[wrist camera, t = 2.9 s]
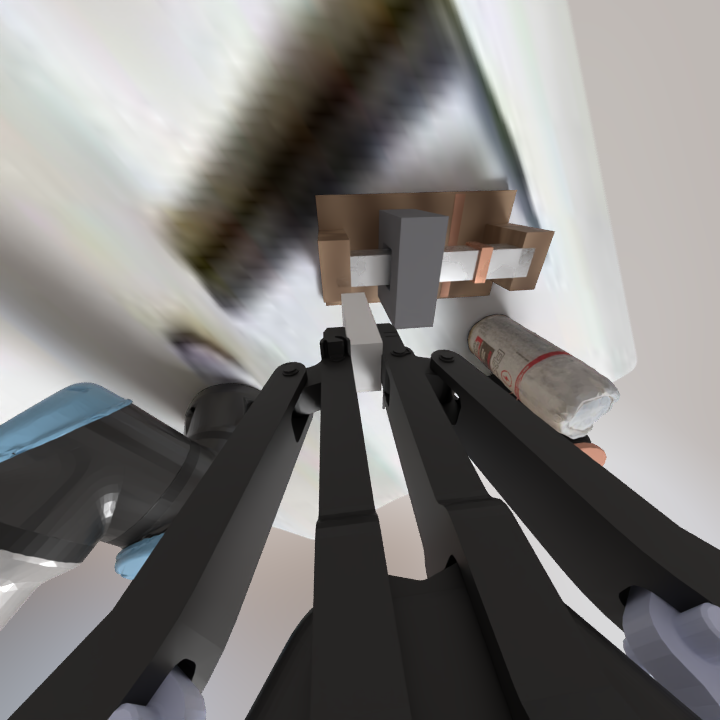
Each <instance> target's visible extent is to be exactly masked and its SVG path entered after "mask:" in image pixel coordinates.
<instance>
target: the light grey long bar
mask: <svg viewBox="0 0 720 720" xmlns="http://www.w3.org/2000/svg"><path fill="white" fill-rule="evenodd" d="M526 249H527V248H526ZM526 249H525V248H524V249H522V248H519V247H515V246H512V245H509V244H482V243H479V242H466V245H462V246H445V247H444V254H443V260H442V267H441V274H440V281H439V282H446V281H463V280H470V281H471V282H473V283H485V281H486V279H498V278H515V277H526V276H527V273H528V270H529V267H530V264H531V261H532V260H531V259H532V258H533V254H534V252H535V251H534V249H533V248H530V249H527V250H526ZM535 249H536V248H535ZM523 250H526V252H525V251H523ZM521 251H522V252H521ZM528 251H529V253H528ZM532 251H534V252H532ZM524 252H525V253H524ZM530 252H531V253H532V256H531V255H530ZM522 253H523V254H522ZM528 254H529V255H528ZM522 255H523V256H524V257H522ZM391 256H392V249H374V250H352V251H350V267H351V287H359V286H376V285H390V278H391ZM520 256H521V257H520ZM528 256H529V257H528ZM530 258H531V259H530ZM521 259H522V260H521ZM525 259H526V260H525ZM527 259H528V261H527ZM520 260H521V261H520ZM529 260H530V261H529ZM522 261H523V262H522ZM526 261H527V262H526ZM521 263H522V265H521ZM525 263H527V264H526V265H525ZM528 265H529V266H528ZM525 266H526V267H525ZM519 267H520V269H519ZM526 268H527V269H526ZM520 270H521V271H522V273H520V272H521V271H520ZM525 270H526V271H525ZM524 271H525V272H524ZM526 272H527V273H526ZM338 278H339V277H338ZM345 278H346V277H345ZM346 283H347V282H346ZM347 284H348V283H347ZM337 286H338V285H337ZM340 287H341V286H340Z"/></svg>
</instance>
